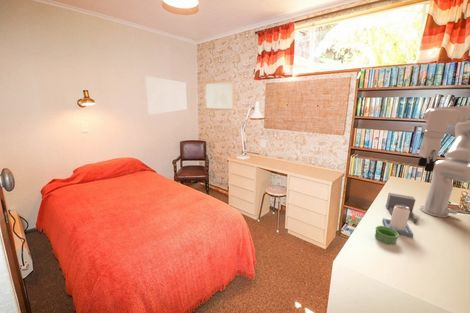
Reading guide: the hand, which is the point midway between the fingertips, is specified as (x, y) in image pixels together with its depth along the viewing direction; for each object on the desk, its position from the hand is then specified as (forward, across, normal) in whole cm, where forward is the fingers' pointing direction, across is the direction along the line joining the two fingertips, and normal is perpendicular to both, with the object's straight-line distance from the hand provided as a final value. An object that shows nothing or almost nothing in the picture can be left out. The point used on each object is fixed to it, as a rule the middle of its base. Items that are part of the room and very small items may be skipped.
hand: (424, 168), depth 113 cm
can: (+30, +13, -9) cm, 34 cm away
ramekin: (+30, +26, -16) cm, 43 cm away
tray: (+30, +13, -9) cm, 34 cm away
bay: (+30, -7, -3) cm, 31 cm away
